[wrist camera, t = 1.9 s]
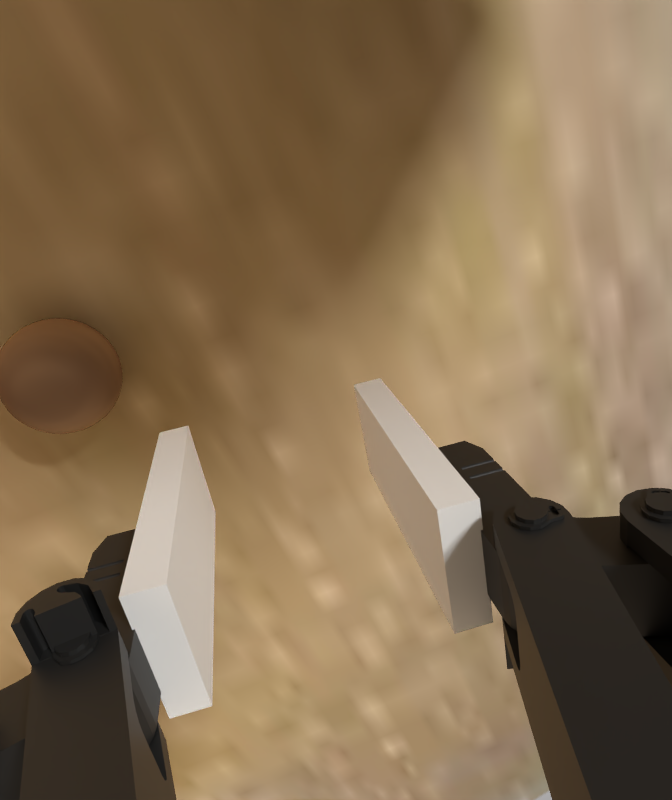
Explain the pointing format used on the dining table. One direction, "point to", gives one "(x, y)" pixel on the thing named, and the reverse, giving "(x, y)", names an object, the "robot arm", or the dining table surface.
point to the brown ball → (59, 375)
